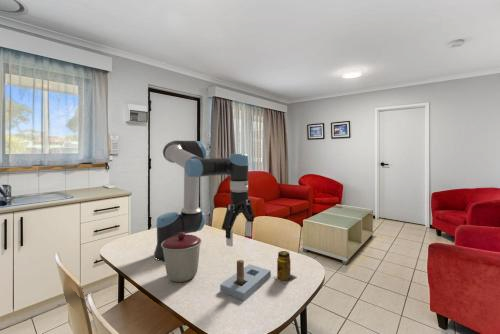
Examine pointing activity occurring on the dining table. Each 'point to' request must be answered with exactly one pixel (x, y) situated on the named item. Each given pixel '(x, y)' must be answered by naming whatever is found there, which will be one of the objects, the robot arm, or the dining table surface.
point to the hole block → (246, 282)
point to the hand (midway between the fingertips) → (239, 240)
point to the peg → (240, 272)
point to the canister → (181, 256)
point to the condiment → (284, 267)
